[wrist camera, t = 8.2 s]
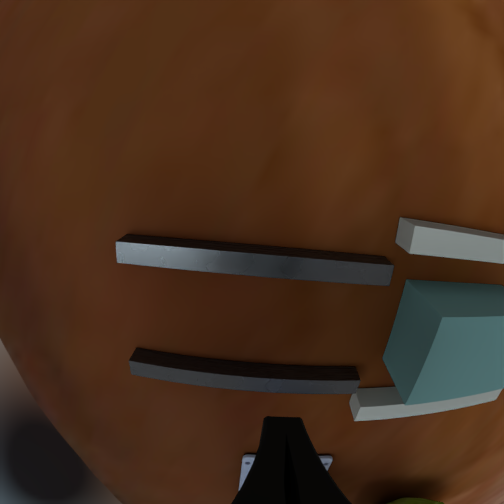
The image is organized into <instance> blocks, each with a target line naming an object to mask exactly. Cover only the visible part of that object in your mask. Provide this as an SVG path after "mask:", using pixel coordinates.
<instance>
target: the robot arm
mask: <svg viewBox="0 0 504 504" xmlns="http://www.w3.org/2000/svg"><path fill="white" fill-rule="evenodd" d="M332 460H333V459H332V456H318V454H317V452H316V450H315V448H314V446H313V444H312V442H311V440H310V438H309V436H308V434H307V431H306V429H305V426H304V423H303V421H302V419H301V418H300V417H271V416H267V417H265V418H264V421H263V427H262V433H261V438H260V444H259V448H258V451H257V453H256V455H249V454H248V455H244V456H243V459H242V467H241V476H240V484H239V492H238V494H237V495H236V497H235V499H234V500H233V502H232V503H231V504H351V502H350V501H349V500H348V499H347V498H346V497H345V495H344V494H343V493H342V492H341V490H340V489H339V488H338V486H337V485H336V483H335V482H334V481H333V479H332V478H331V476H330V475H329V473H328V471H327V470H328V469H329V467H330V465H331V463H332Z"/></svg>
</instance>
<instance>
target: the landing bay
mask: <svg viewBox="0 0 504 504" xmlns="http://www.w3.org/2000/svg"><path fill="white" fill-rule="evenodd" d="M395 243H397V244H398V245H399V246H400V247H402V248H403V249H404V250H406V251H407V252H408V253H410V254H419V255H429V256H438V257H448V258H457V259H466V260H475V261H484V262H493V263H502V264H504V235H503V234H498V233H492V232H487V231H482V230H476V229H471V228H465V227H459V226H453V225H447V224H441V223H435V222H429V221H422V220H416V219H409V218H402V217H400V219H399V225H398V231H397V236H396V241H395ZM501 390H502V389H499V390H494V391H490V392H486V393H481V394H476V395H471V396H466V397H461V398H455V399H450V400H443V401H437V402H430V403H422V404H414V405H404V403H403V401H402V398H401V396H400V394H399V392H398V390H397V388H396V387H380V388H358V389H357V391H356V394H352V396H351V399H350V401H349V404H350V407H351V411H352V414H353V418H354V421H366V420H379V419H390V418H399V417H408V416H416V415H423V414H429V413H436V412H442V411H447V410H453V409H458V408H463V407H468V406H472V405H477V404H481V403H485V402H489V401H493V400H496V398H497V397H498V395H499V393H500V392H501Z"/></svg>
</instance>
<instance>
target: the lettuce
mask: <svg viewBox="0 0 504 504" xmlns="http://www.w3.org/2000/svg"><path fill="white" fill-rule="evenodd" d="M386 504H444V503H443V502H438V501H433V500H428V499H423V498H400V499H397V500H395V501H392V502H389V503H386Z"/></svg>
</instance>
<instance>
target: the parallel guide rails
mask: <svg viewBox="0 0 504 504" xmlns="http://www.w3.org/2000/svg"><path fill="white" fill-rule="evenodd" d="M116 254H117V263H126V264H135V265H145V266H154V267H164V268H174V269H184V270H194V271H205V272H215V273H226V274H237V275H249V276H260V277H272V278H285V279H297V280H310V281H324V282H337V283H352V284H367V285H383V286H389V285H390V281H391V277H392V273H393V268H394V265H393V264H392V263H391V262H390V261H389V260H388V259H387V258H386V257H385V256H375V255H364V254H353V253H342V252H331V251H320V250H309V249H298V248H286V247H275V246H263V245H252V244H240V243H228V242H216V241H204V240H192V239H180V238H168V237H155V236H143V235H130V234H126V235H125V236H123V237H122V238H120V239H119V240H117V241H116ZM129 364H130V370H131V374H133V375H138V376H143V377H148V378H154V379H159V380H165V381H171V382H178V383H185V384H192V385H199V386H207V387H215V388H224V389H234V390H246V391H259V392H275V393H299V394H356V391H357V389H358V386H359V383H360V381H361V380H360V378H359V375H358V372H357V370H356V367H331V366H297V365H278V364H263V363H250V362H238V361H228V360H218V359H209V358H201V357H193V356H186V355H178V354H171V353H165V352H158V351H152V350H146V349H140V348H136V349H135V351H134V353H133V354H132V356H131V358H130V360H129Z"/></svg>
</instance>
